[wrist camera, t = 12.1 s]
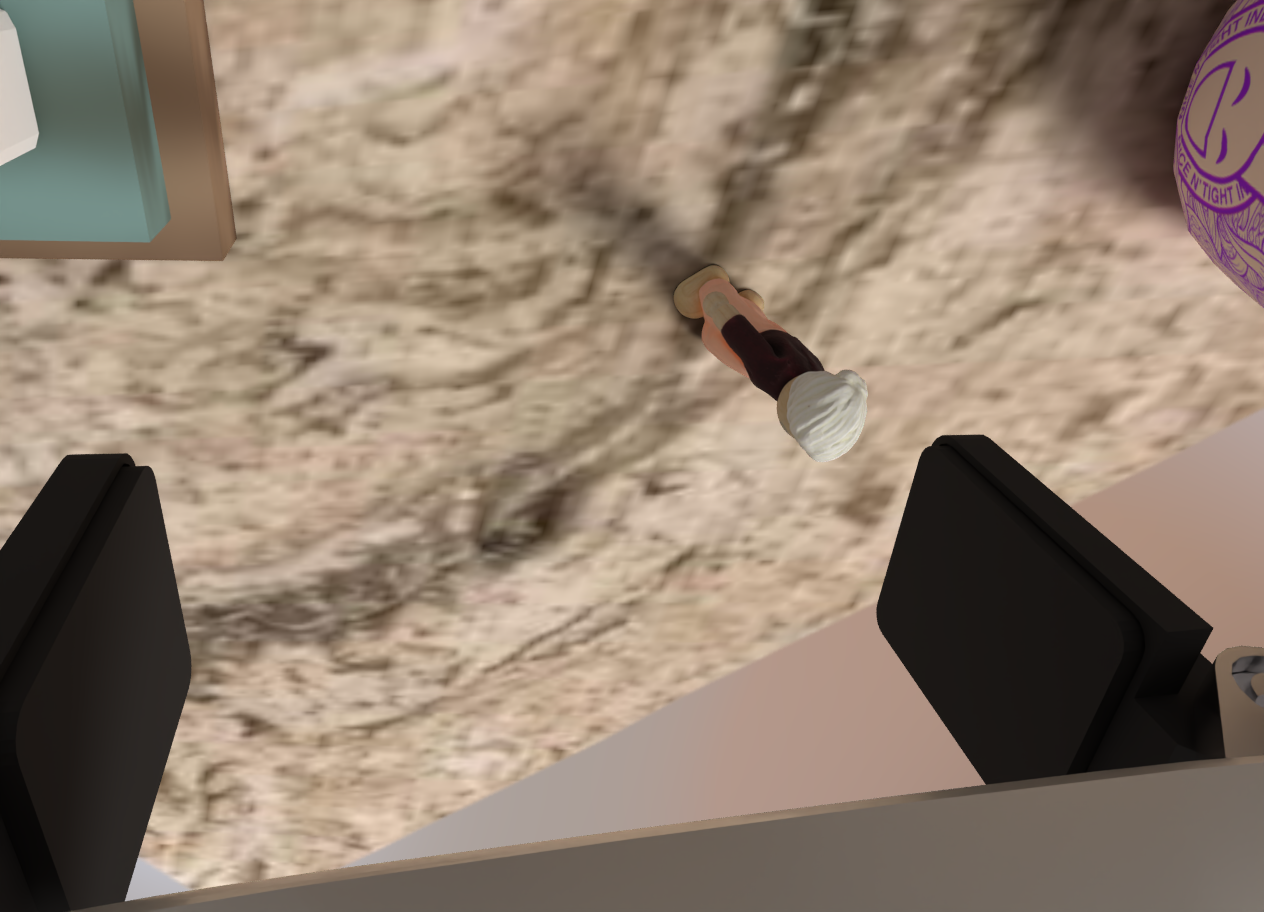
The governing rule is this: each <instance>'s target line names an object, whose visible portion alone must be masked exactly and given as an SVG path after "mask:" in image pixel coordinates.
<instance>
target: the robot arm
mask: <svg viewBox="0 0 1264 912" xmlns="http://www.w3.org/2000/svg"><path fill="white" fill-rule="evenodd" d="M877 622H878V625H879V628H880V630H881V632H882V634H883V635H884V637H885V638H886V640H887V641H888V643H889V644H890V646H891V647H892V649H893V650H894V651H895V653H896V654H897V656H898V657H899V659H900V660H901V662H902V663H903V664H904V666H905V667H906V669H907V670H908V672H909V673H910V675H911V676H912V678H913V679H914V681H915V682H916V683H917V685H918V686H919V688H920V689H921V691H922V692H923V694H924V695H925V697H926V698H927V699H928V701H929V702H930V704H931V705H932V706H933V708H934V710H935V711H936V712H937V714H938V715H939V717H940V718H941V720H942V721H943V723H944V724H945V726H946V727H947V728H948V730H949V731H950V733H951V734H952V736H953V737H954V738H955V740H956V742H957V743H958V745H959V746H960V747H961V749H962V750H963V752H964V753H965V755H966V756H967V758H968V759H969V761H970V762H971V764H972V765H973V766H974V768H975V769H976V771H977V772H978V774H979V775H980V776H981V778H982V779H983V781H984V782H985V784H986V785H981V786H972V787H964V788H956V789H948V790H939V791H931V792H923V793H915V794H907V795H898V796H891V797H882V798H875V799H867V800H859V801H851V802H843V803H835V804H827V805H819V806H813V807H804V808H796V809H788V810H780V811H772V812H764V813H757V814H749V815H741V816H734V817H726V818H718V819H710V820H702V821H694V822H687V823H680V824H671V825H664V826H655V827H648V828H640V829H632V830H624V831H617V832H610V833H602V834H594V835H587V836H579V837H572V838H564V839H557V840H550V841H542V842H535V843H527V844H520V845H512V846H505V847H497V848H490V849H482V850H475V851H467V852H460V853H452V854H444V855H437V856H431V857H422V858H415V859H408V860H400V861H392V862H385V863H377V864H370V865H362V866H355V867H347V868H341V869H334V870H327V871H320V872H313V873H306V874H300V875H293V876H286V877H279V878H272V879H265V880H258V881H252V882H245V883H238V884H231V885H224V886H218V887H211V888H205V889H198V890H192V891H185V892H179V893H172V894H166V895H159V896H153V897H148V898H143V899H137V900H131V901H125V898H126V895H127V892H128V888H129V885H130V881H131V878H132V875H133V872H134V868H135V865H136V862H137V858H138V855H139V852H140V848H141V845H142V842H143V838H144V835H145V832H146V829H147V825H148V822H149V819H150V815H151V812H152V809H153V805H154V802H155V799H156V795H157V792H158V789H159V785H160V782H161V779H162V775H163V772H164V769H165V765H166V762H167V759H168V756H169V752H170V749H171V746H172V742H173V739H174V736H175V732H176V729H177V726H178V722H179V719H180V716H181V712H182V709H183V706H184V702H185V699H186V696H187V692H188V689H189V685H190V679H191V655H190V649H189V644H188V639H187V634H186V629H185V624H184V619H183V614H182V609H181V604H180V599H179V594H178V589H177V584H176V579H175V574H174V569H173V564H172V559H171V554H170V549H169V544H168V539H167V534H166V529H165V524H164V519H163V514H162V509H161V504H160V499H159V494H158V489H157V484H156V479H155V476H154V473H153V471H152V469H151V468H150V467H149V466H135V463H134V461H133V459H132V457H131V456H130V455H128V454H127V453H124V454H78V455H67V456H66V457H65V458H63V459H62V461H61V462H60V464H59V465H58V467H57V468H56V470H55V471H54V472H53V474H52V475H51V477H50V478H49V480H48V481H47V483H46V484H45V486H44V487H43V489H42V490H41V492H40V493H39V494H38V496H37V497H36V499H35V500H34V502H33V503H32V505H31V506H30V508H29V509H28V511H27V512H26V513H25V515H24V516H23V518H22V519H21V521H20V522H19V524H18V525H17V527H16V528H15V530H14V531H13V532H12V534H11V535H10V537H9V538H8V540H7V541H6V543H5V544H4V546H3V547H2V549H1V550H0V912H1264V648H1262V647H1250V646H1238V647H1232V648H1227V649H1225V650H1224V651H1223V652H1221V653H1220V654H1219V655H1218V656H1217V657H1216V659H1215V661H1214V663H1213V664H1211V662H1209V661H1208V660H1207V659H1206V658H1205V657H1204V656H1203V655H1202V654H1200V652H1201V650H1202V649H1203V647H1204V645H1205V643H1206V641H1207V639H1208V637H1209V635H1210V634H1211V632H1212V630H1213V627H1212V626H1210V625H1209V624H1208V623H1207V622H1206V621H1204V620H1203V619H1202V618H1201V617H1200V616H1199V615H1197V614H1196V613H1195V612H1194V611H1193V610H1191V609H1190V608H1189V607H1188V606H1187V605H1185V604H1184V603H1183V602H1182V601H1181V600H1180V599H1178V598H1177V597H1176V596H1175V595H1174V594H1172V593H1171V592H1170V591H1169V590H1168V589H1167V588H1166V587H1164V586H1163V585H1162V584H1161V583H1159V582H1158V581H1157V580H1156V579H1155V578H1154V577H1153V576H1151V575H1150V574H1149V573H1148V572H1147V571H1145V570H1144V569H1143V568H1142V567H1141V566H1139V565H1138V564H1137V563H1136V562H1135V561H1134V560H1132V559H1131V558H1130V557H1129V556H1128V555H1127V554H1125V553H1124V552H1123V551H1122V550H1121V549H1120V548H1118V547H1117V546H1116V545H1115V544H1114V543H1112V542H1111V541H1110V540H1109V539H1108V538H1107V537H1105V536H1104V535H1103V534H1102V533H1100V532H1099V531H1098V530H1097V529H1096V528H1095V527H1093V526H1092V525H1091V524H1090V523H1089V522H1087V521H1086V520H1085V519H1084V518H1083V517H1082V516H1081V515H1079V514H1078V513H1077V512H1076V511H1075V510H1073V509H1072V508H1071V507H1070V506H1069V505H1068V504H1066V503H1065V502H1064V501H1063V500H1062V499H1061V498H1059V497H1058V496H1057V495H1056V494H1055V493H1053V492H1052V491H1051V490H1050V489H1049V488H1048V487H1046V486H1045V485H1044V484H1043V483H1042V482H1040V481H1039V480H1038V479H1037V478H1036V477H1035V476H1033V475H1032V474H1031V473H1030V472H1029V471H1027V470H1026V469H1025V468H1024V467H1023V466H1022V465H1020V464H1019V463H1018V462H1017V461H1016V460H1015V459H1013V458H1012V457H1011V456H1010V455H1009V454H1007V453H1006V452H1005V451H1004V450H1003V449H1002V448H1000V447H999V446H998V445H997V444H996V443H994V442H993V441H992V440H991V439H990V438H988V437H986V436H985V435H942V436H940V437H938V438H937V439H936V440H935V441H934V442H933V444H932V446H929V447H927V448H925V449H924V451H923V452H922V454H921V456H920V459H919V462H918V465H917V469H916V472H915V476H914V479H913V483H912V486H911V490H910V493H909V496H908V500H907V503H906V507H905V510H904V514H903V517H902V521H901V524H900V527H899V531H898V534H897V538H896V541H895V545H894V548H893V552H892V555H891V558H890V562H889V565H888V569H887V572H886V576H885V579H884V583H883V586H882V589H881V593H880V596H879V600H878V603H877Z"/></svg>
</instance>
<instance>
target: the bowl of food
mask: <svg viewBox="0 0 1264 912" xmlns="http://www.w3.org/2000/svg"><path fill="white" fill-rule="evenodd" d="M1173 171H1174V175H1175V179H1176V183H1177V187H1178V191H1179V196H1180V200H1181V204H1182V208H1183V212H1184V216H1185V219H1186V223H1187V227H1188V231H1189V232H1190V234H1191V235H1192V236H1193V237H1194V239H1195V240H1196V241H1197V242H1198V244H1199V245H1200V246H1201V248H1202V249H1203V250H1204V251H1205V253H1206V254H1207V255H1208V256H1209V258H1210V259H1211V260H1212V262H1213V263H1214V264H1215V265H1216V266H1217V267H1218V268H1219V269H1220V270H1221V271H1222V272H1223V273H1224V274H1225V275H1226V276H1227V277H1229V278H1230V279H1231V280H1232V281H1233V282H1234V283H1235V284H1236V285H1237V286H1238V287H1239V288H1240V289H1242V290H1243V291H1244V292H1245V293H1246V294H1248V295H1249V296H1250V297H1251V298H1252V299H1253V300H1255V301H1256V302H1257V303H1258V304H1259V305H1261V306H1262V307H1263V308H1264V0H1237V1H1236V2H1235V3H1234V4H1233V5H1232V6H1231V7H1230V8H1229V9H1228V11H1227V13H1226V14H1225V16H1224V18H1223V20H1222V21H1221V23H1220V25H1219V26H1218V28H1217V30H1216V31H1215V33H1214V35H1213V36H1212V38H1211V40H1210V41H1209V43H1208V45H1207V46H1206V48H1205V50H1204V51H1203V53H1202V55H1201V56H1200V58H1199V60H1198V61H1197V63H1196V65H1195V68H1194V71H1193V74H1192V77H1191V80H1190V83H1189V86H1188V89H1187V92H1186V95H1185V98H1184V101H1183V104H1182V107H1181V109H1180V112H1179V115H1178V118H1177V128H1176V140H1175V152H1174V164H1173Z"/></svg>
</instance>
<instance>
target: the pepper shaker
mask: <svg viewBox="0 0 1264 912" xmlns="http://www.w3.org/2000/svg"><path fill="white" fill-rule="evenodd" d="M38 135H39V131H38V127H37V122H36V117H35V113H34V108H33V104H32V99H31V95H30V90H29V86H28V81H27V76H26V72H25V67H24V63H23V58H22V54H21V49H20V45H19V40H18V36H17V31H16V28H15V26H14V25H13V23H12V21H11V19H10V17H9V15H8V13H7V12H6V11H4V10H2V9H0V166H1V165H3V164H5V163H7V162H9V161H11V160H13V159H15V158H17V157H19V156H20V155H22V154H24V153H26V152H28V151H30V150H32V149H34V148H36V144H37V139H38Z"/></svg>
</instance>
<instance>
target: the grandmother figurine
mask: <svg viewBox="0 0 1264 912" xmlns="http://www.w3.org/2000/svg"><path fill="white" fill-rule="evenodd" d="M674 303H675V306H676V308H677V309H678V310H679V312H680V313H681V314H682V315H684V316H685V317H688V318H694V319H696V318H701V317H704V319H705V323H704V326H703V329H702V341H703V343H704V345H705V347H706V348H707V349H708V350H709V351H710V352H711V353H712V354H713V355H714V356H716V357H717V358H718V359H719V360H720V361H721V362H723V363H724V364H725V365H727V366H728V367H730V368H732V369H733V370H735V371H737V372H739V373H741V374H742V375H744V376H746V377H748V378H749V379H751V381H752V382H753V384H754V385H755V386H756V387H758V388H759V389H761V390H763V391H764V392H766V393H767V394H769V395H770V396H771V397H772V398H774V399H775V400H776V401H777V414H778V418H779V421H780V424H781V425H782V427H783V428H784V430H785V431H786V432H787V433H788V434H789V435H790V436H792V437H793V438H795V439H796V441H797V442H798V443H799V444H800V446H801V447H802V448H803V449H804V450H805V451H806V453H807V454H808V455H809V456H810V457H811V458H812V459H814V460H815V461H817V462H827V461H831V460H834V459H836V458H838V457H840V456H841V455H843V454H844V453H846V452H847V451H848V450H849V449H850V448H851V447H852V446H853V445H854V443H855V442H856V441H857V439H858V437H859V435H860V433H861V431H862V429H863V426H864V423H865V418H866V413H867V405H866V399H867V396H868V392H867V386H866V383H865V381H864V380H863V379H862V378H861V377H859V375H858V374H857V373H855V372H854V371H852V370H842V371H840V372H839V373H838V374H836V375H833V374H831V373H829V372H827V371H824V368H823V366H822V364H821V363H820V361H819V360H818V358H817V357H816V356H815V355H813V353H812V352H810V351H809V350H808V349H807V348H806V347H805V346H804V345H803V344H802V343H801V342H800V341H799V340H798V339H797V338H796V337H793V336H791V335H790V334H788V333H787V332H786V331H785V330H784V329H783V328H781V327H780V326H779V325H777V324H776V323H774V322H772V321H770V320H768V319H767V317H766V316H765V314H764V313H763V309H764V301H763V299H762V297H761V296H760V295H759V294H757V293H755V292H754V291H751V290H744V291H741V292H740V293H737V291H736V289H735V288H734V287H733V286H732V285H731V284H730V280H729V277H728V275H727V273H726V272H725V271H724V270H723V269H722V268H721V267H719V266H716V265H711V266H708V267H706V268H704V269H702V270H701V271H699V272H697V273H696V274H694V275H692V276H691V277H689V278H687V279H686V280H684V281H683V282H681V283H680V284H679V286H678V287H677V289H676V290H675V293H674Z"/></svg>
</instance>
